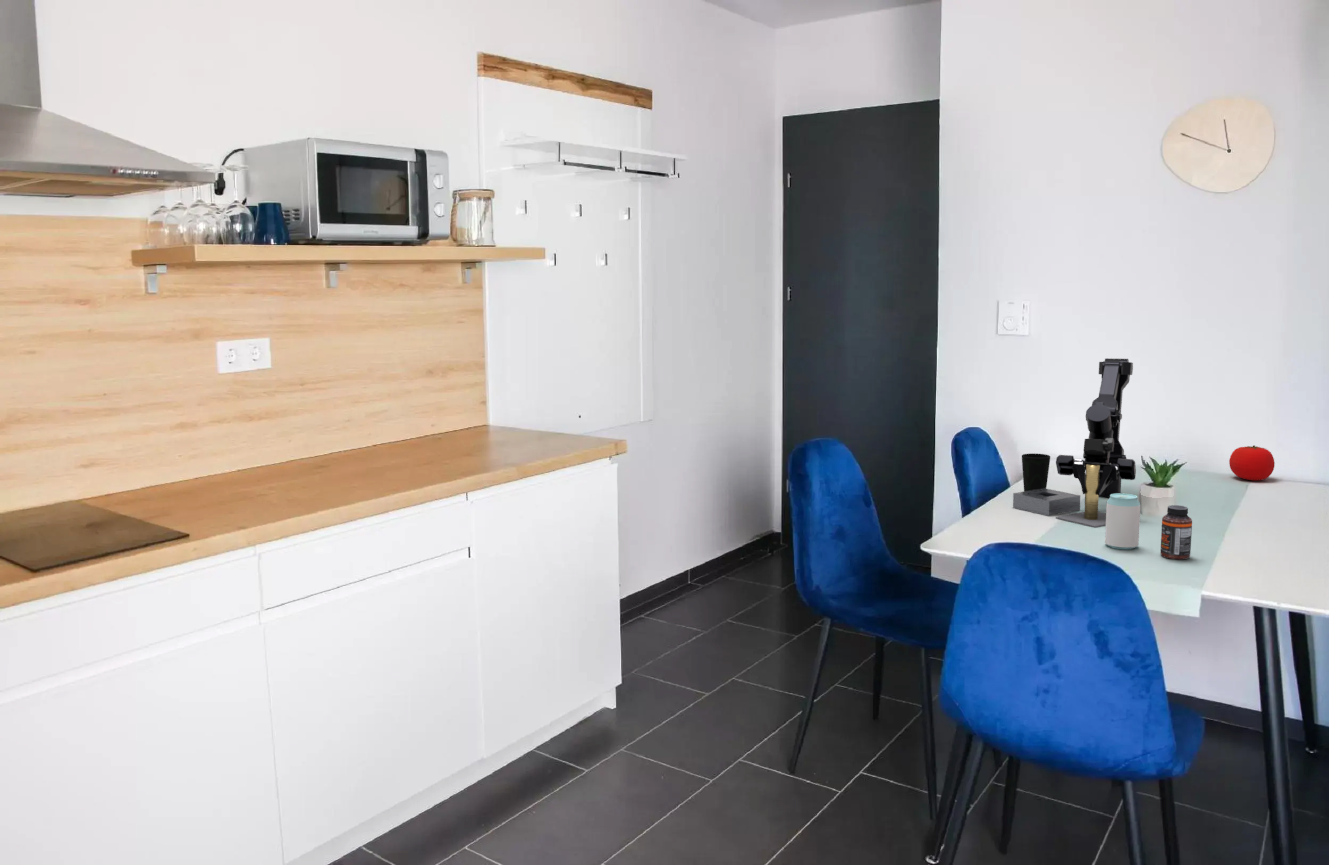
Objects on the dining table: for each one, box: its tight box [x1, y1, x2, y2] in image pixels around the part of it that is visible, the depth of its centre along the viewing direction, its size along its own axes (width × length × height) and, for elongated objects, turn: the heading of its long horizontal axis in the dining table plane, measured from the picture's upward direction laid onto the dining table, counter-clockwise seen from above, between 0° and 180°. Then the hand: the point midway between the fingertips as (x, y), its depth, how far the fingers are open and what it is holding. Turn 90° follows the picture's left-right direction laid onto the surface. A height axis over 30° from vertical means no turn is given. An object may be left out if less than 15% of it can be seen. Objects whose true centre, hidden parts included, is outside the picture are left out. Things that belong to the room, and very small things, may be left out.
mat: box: [1055, 511, 1106, 529], centre depth 256 cm, size 14×12×1 cm
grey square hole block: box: [1012, 487, 1081, 517], centre depth 269 cm, size 12×12×4 cm
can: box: [1104, 492, 1141, 550], centre depth 229 cm, size 7×7×12 cm
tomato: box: [1228, 445, 1276, 482], centre depth 301 cm, size 12×12×10 cm
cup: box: [1021, 453, 1051, 492], centre depth 284 cm, size 8×8×12 cm
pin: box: [1083, 464, 1100, 520], centre depth 255 cm, size 3×3×14 cm
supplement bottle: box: [1160, 504, 1193, 561], centre depth 220 cm, size 6×6×11 cm
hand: (1091, 493), depth 254 cm, fingers closed on pin, 3 cm apart
